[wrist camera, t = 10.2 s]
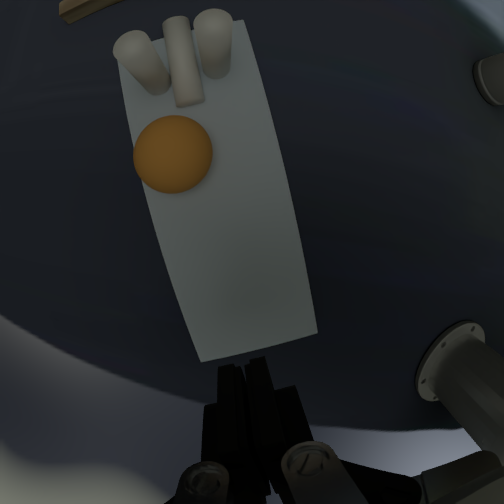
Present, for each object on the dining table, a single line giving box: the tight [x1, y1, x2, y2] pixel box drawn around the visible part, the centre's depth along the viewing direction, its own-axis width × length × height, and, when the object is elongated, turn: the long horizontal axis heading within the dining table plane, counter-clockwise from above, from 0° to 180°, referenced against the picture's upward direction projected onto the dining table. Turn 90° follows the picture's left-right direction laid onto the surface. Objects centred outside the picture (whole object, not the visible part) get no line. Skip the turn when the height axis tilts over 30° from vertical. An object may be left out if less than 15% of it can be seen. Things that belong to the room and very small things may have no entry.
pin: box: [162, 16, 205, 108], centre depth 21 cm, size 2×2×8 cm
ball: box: [133, 115, 213, 194], centre depth 21 cm, size 6×6×6 cm
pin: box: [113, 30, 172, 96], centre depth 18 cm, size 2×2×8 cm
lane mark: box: [118, 20, 318, 362], centre depth 25 cm, size 31×12×1 cm, turn 14°
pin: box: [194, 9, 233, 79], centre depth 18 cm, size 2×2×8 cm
